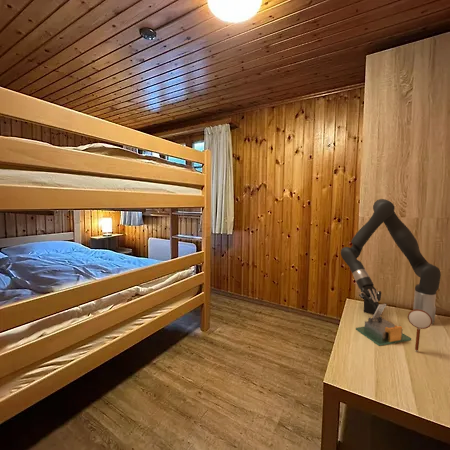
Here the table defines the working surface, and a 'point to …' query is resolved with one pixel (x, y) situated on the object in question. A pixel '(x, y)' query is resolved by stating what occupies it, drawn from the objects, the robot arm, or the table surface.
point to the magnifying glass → (419, 322)
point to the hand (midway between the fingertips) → (378, 310)
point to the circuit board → (382, 332)
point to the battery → (368, 307)
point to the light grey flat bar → (378, 311)
